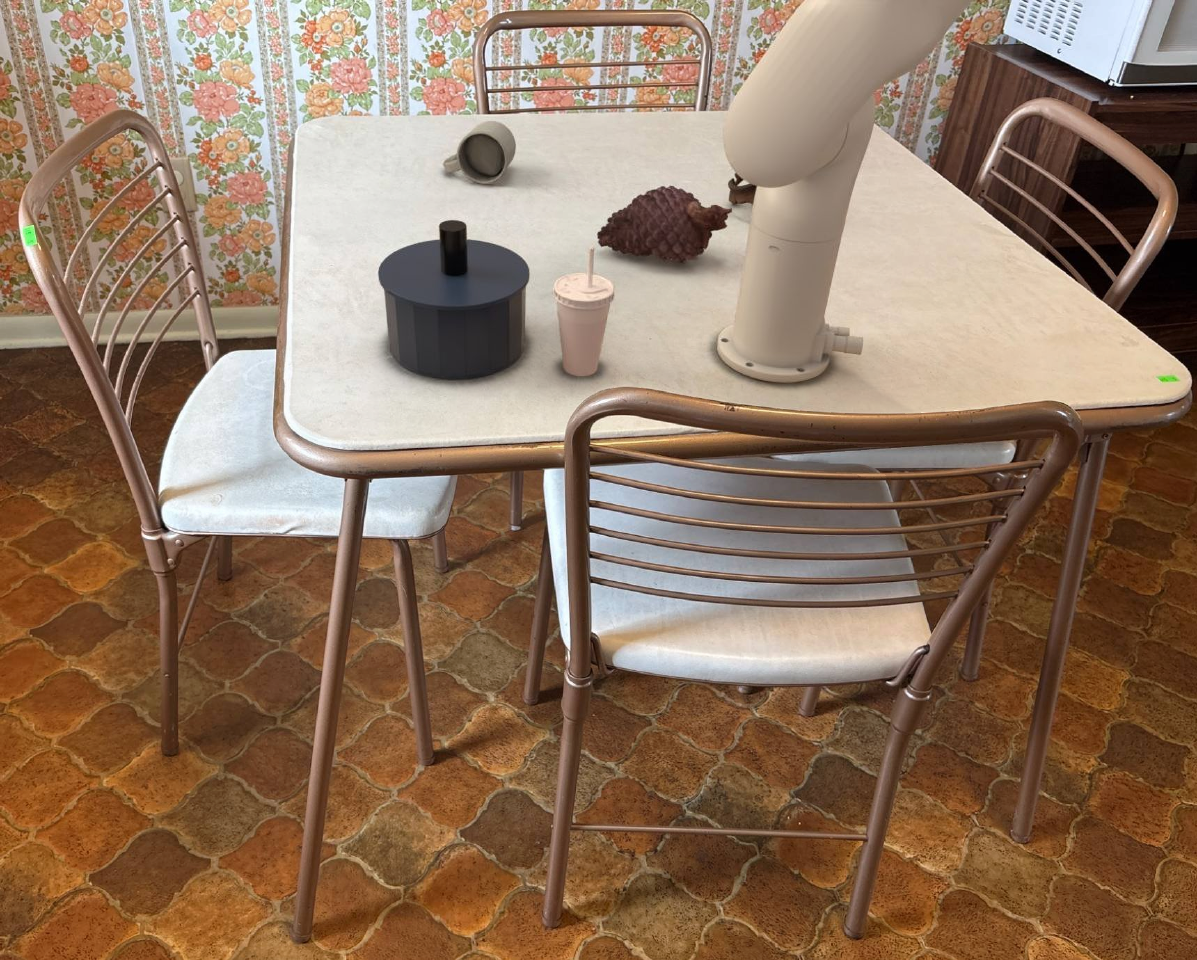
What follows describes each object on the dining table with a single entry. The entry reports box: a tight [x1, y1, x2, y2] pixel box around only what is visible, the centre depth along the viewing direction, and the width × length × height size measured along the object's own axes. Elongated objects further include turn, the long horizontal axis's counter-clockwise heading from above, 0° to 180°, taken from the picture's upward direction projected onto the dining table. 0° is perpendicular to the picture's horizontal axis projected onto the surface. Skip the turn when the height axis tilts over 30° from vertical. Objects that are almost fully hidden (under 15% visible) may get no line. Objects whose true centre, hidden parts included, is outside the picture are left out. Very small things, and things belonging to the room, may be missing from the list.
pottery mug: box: [727, 172, 757, 206], centre depth 143 cm, size 12×10×8 cm
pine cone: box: [596, 185, 733, 264], centre depth 128 cm, size 18×10×10 cm
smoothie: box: [552, 246, 616, 377], centre depth 103 cm, size 6×6×14 cm
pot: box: [383, 286, 527, 381], centre depth 107 cm, size 15×15×8 cm
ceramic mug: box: [442, 120, 517, 185], centre depth 147 cm, size 11×8×8 cm
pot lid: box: [377, 219, 530, 310], centre depth 103 cm, size 16×16×6 cm
